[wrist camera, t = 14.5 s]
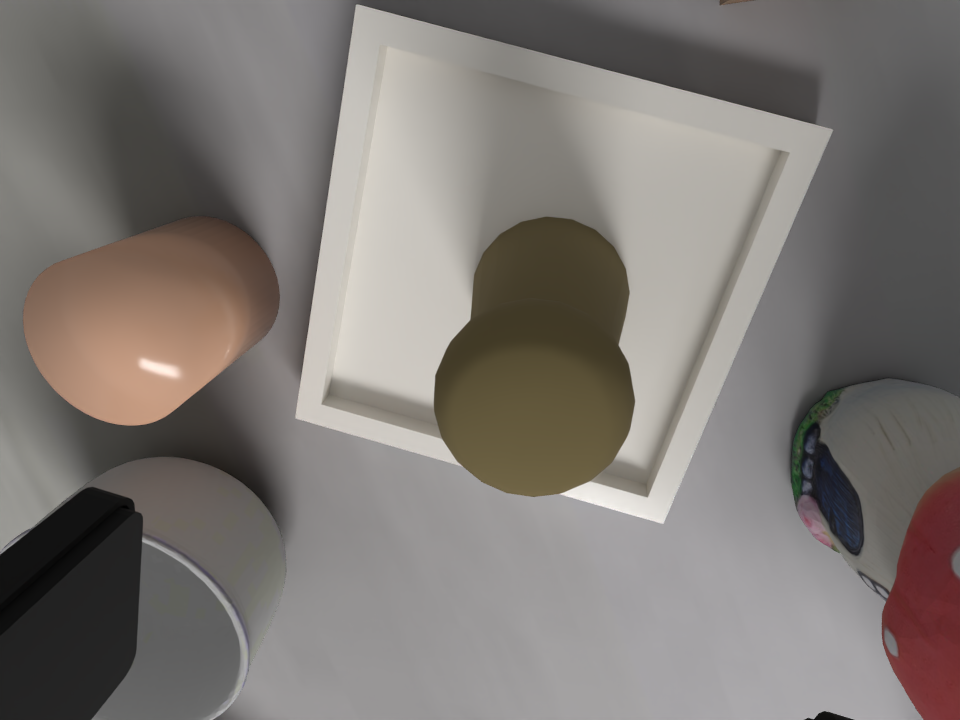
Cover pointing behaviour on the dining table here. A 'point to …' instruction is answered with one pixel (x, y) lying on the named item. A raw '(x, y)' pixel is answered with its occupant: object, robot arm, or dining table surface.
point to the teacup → (194, 587)
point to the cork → (539, 362)
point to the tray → (530, 195)
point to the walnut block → (732, 1)
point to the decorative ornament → (893, 519)
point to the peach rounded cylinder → (150, 317)
